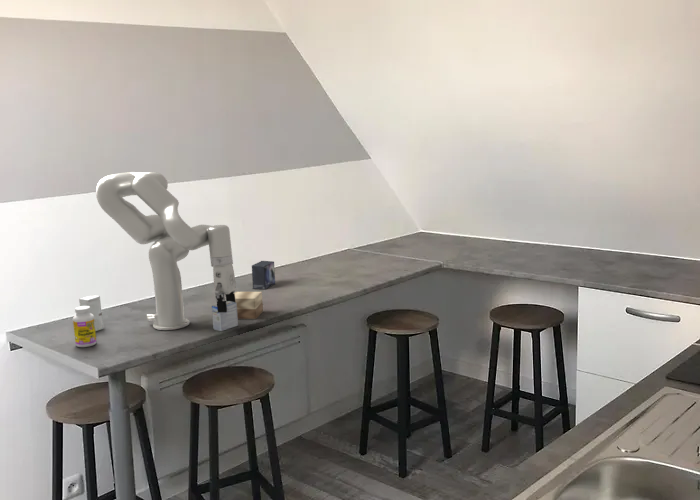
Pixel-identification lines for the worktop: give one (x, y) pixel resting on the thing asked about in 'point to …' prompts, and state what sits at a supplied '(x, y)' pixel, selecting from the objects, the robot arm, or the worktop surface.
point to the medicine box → (225, 317)
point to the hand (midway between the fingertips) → (227, 308)
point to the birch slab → (248, 300)
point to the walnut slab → (250, 312)
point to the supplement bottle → (84, 327)
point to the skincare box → (94, 309)
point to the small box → (263, 274)
